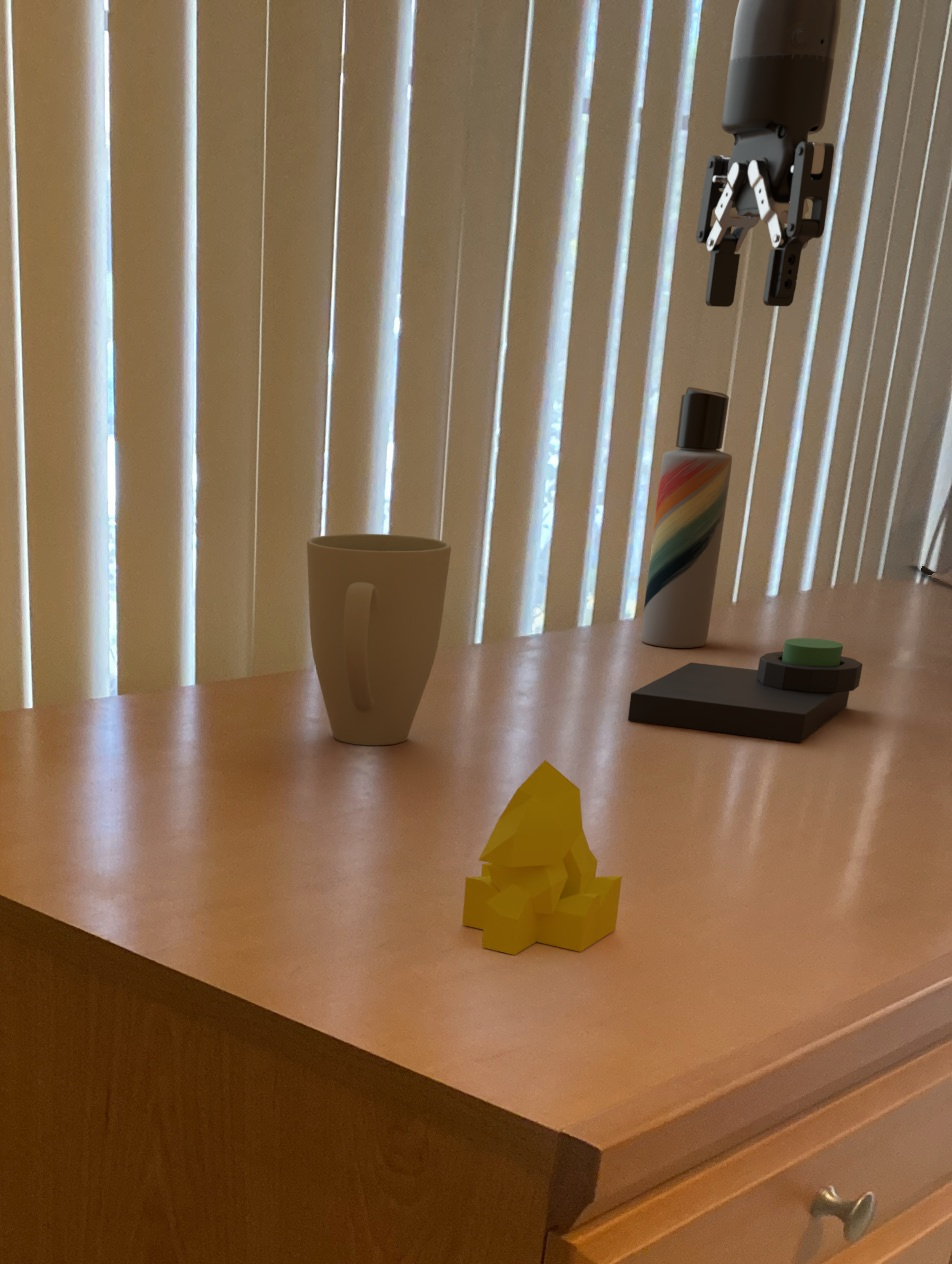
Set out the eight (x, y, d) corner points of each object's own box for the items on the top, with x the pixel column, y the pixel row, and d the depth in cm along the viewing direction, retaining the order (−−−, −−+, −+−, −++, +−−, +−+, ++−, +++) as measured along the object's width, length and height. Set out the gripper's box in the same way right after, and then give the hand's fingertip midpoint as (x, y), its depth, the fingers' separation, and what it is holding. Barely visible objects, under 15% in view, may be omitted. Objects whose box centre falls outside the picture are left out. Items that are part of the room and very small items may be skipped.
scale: (688, 686, 125) (695, 639, 123) (861, 707, 119) (870, 658, 118) (627, 720, 113) (633, 668, 112) (814, 745, 108) (824, 691, 106)
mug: (265, 729, 108) (268, 536, 103) (393, 717, 112) (403, 531, 107) (345, 766, 100) (354, 558, 94) (481, 752, 104) (497, 552, 98)
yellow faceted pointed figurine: (634, 917, 75) (655, 748, 72) (559, 965, 70) (578, 784, 66) (520, 893, 78) (535, 729, 75) (439, 937, 72) (451, 762, 69)
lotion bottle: (653, 635, 145) (684, 386, 136) (715, 642, 143) (751, 388, 133) (630, 643, 141) (661, 387, 132) (694, 651, 139) (730, 390, 129)
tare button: (789, 658, 119) (792, 636, 118) (844, 664, 117) (848, 642, 116) (775, 666, 116) (778, 643, 115) (832, 672, 114) (836, 650, 113)
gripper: (884, 47, 115) (841, 308, 123) (773, 71, 127) (740, 307, 135) (791, 39, 113) (754, 305, 120) (687, 64, 125) (659, 305, 132)
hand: (746, 306), depth 127 cm, fingers open, 8 cm apart
